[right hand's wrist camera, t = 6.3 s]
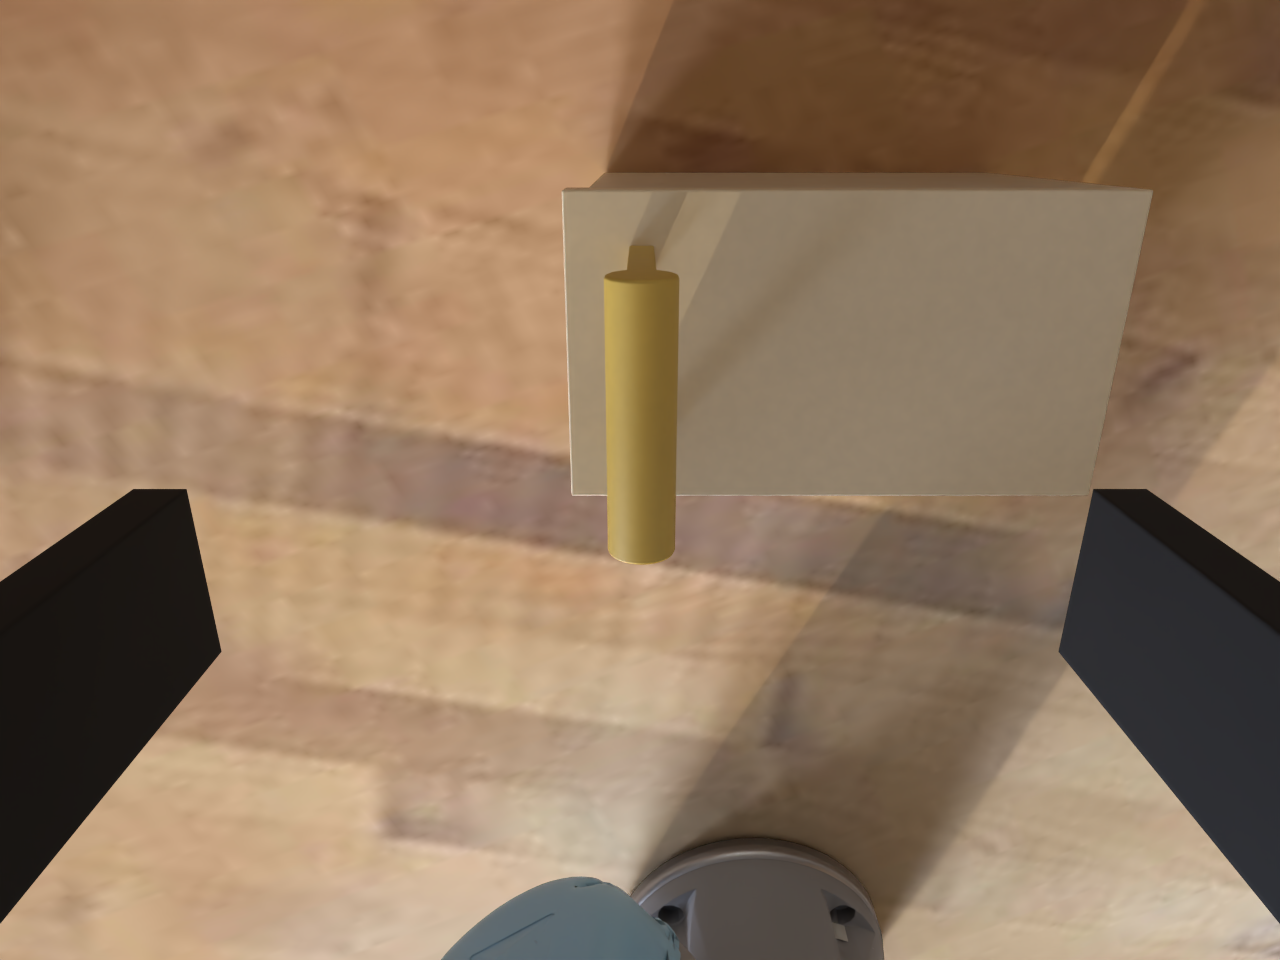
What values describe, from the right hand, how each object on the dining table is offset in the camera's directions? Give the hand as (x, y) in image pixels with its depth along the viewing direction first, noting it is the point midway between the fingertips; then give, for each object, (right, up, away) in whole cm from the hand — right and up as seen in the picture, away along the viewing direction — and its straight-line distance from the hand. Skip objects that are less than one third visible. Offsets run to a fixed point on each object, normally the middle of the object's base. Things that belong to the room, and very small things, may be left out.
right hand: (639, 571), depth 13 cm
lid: (+6, +6, +14) cm, 16 cm away
